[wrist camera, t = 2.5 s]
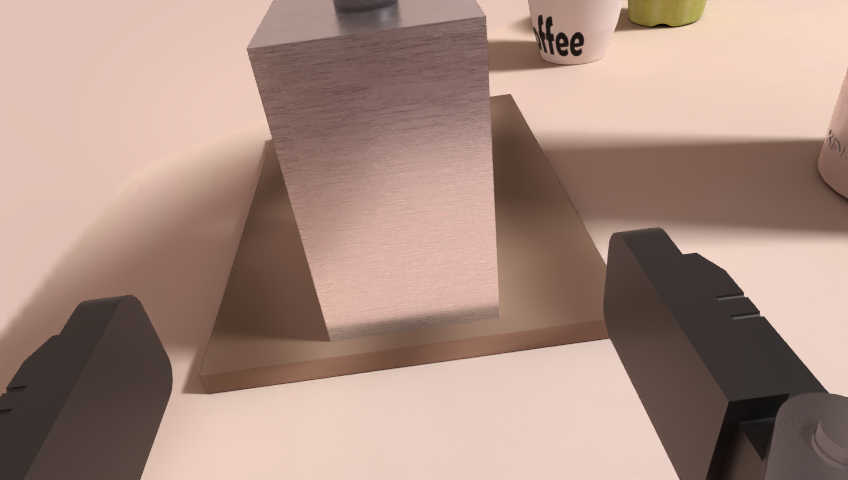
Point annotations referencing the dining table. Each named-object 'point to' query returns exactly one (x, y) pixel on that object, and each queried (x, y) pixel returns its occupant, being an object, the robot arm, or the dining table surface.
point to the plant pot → (665, 11)
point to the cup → (574, 28)
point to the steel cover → (385, 157)
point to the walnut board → (515, 329)
